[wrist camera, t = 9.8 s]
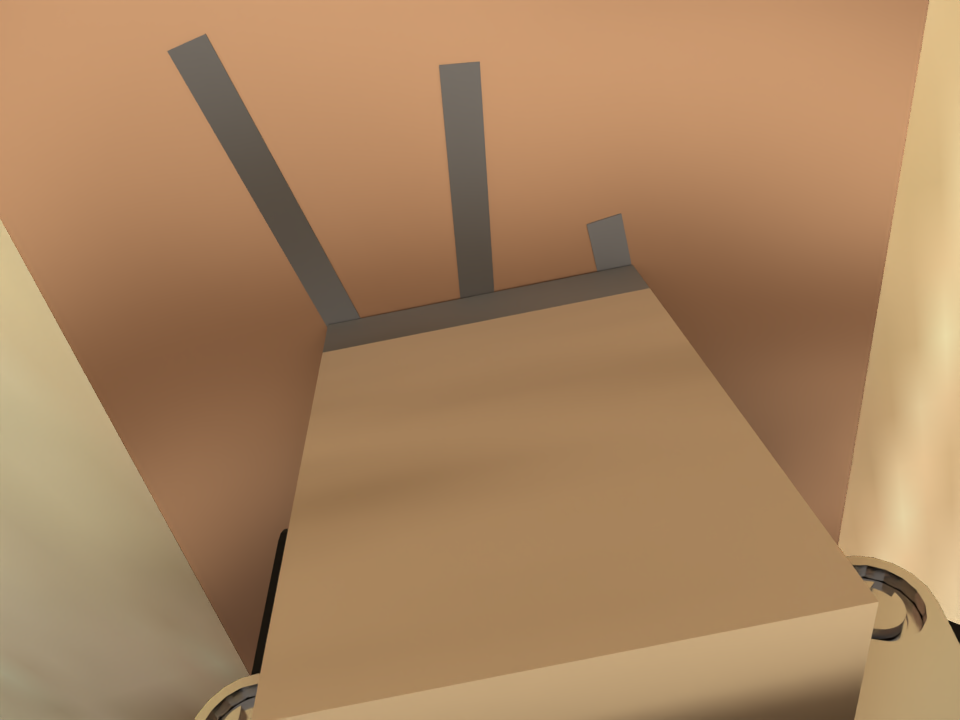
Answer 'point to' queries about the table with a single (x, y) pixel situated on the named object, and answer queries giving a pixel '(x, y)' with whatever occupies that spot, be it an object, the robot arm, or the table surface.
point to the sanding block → (550, 529)
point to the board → (441, 208)
